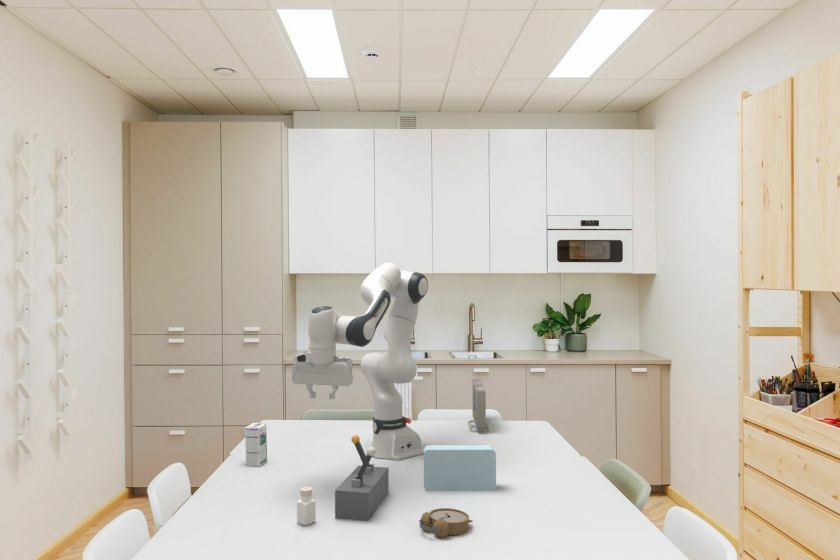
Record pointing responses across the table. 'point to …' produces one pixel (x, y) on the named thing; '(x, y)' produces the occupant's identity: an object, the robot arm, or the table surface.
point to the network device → (479, 407)
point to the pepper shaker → (306, 507)
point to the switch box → (362, 493)
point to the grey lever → (366, 462)
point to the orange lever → (359, 448)
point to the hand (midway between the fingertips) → (322, 398)
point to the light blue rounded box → (459, 468)
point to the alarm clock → (445, 521)
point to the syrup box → (256, 444)
